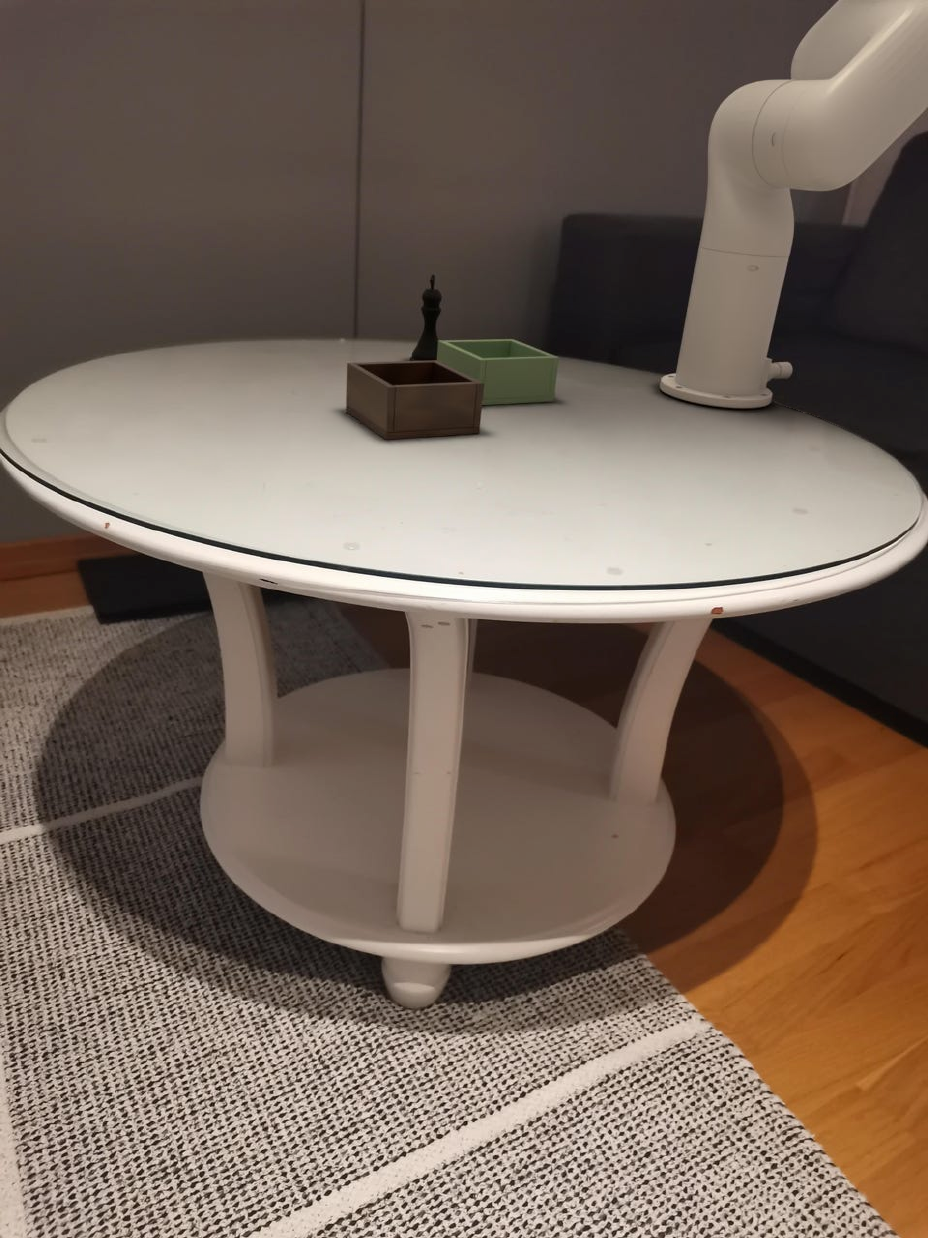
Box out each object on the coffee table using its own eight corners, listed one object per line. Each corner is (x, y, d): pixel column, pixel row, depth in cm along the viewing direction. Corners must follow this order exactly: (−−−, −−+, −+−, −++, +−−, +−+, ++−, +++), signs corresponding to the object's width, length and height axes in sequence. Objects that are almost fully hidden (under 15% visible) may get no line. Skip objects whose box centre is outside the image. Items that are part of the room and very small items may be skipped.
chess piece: (406, 365, 110) (411, 274, 105) (412, 357, 114) (417, 270, 109) (443, 369, 109) (450, 278, 105) (448, 361, 113) (454, 274, 109)
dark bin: (434, 406, 94) (437, 359, 92) (479, 433, 86) (484, 383, 84) (345, 411, 89) (346, 362, 87) (385, 439, 82) (388, 387, 80)
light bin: (508, 380, 107) (512, 338, 105) (553, 401, 100) (559, 357, 98) (434, 383, 103) (437, 340, 100) (476, 405, 95) (480, 359, 93)
